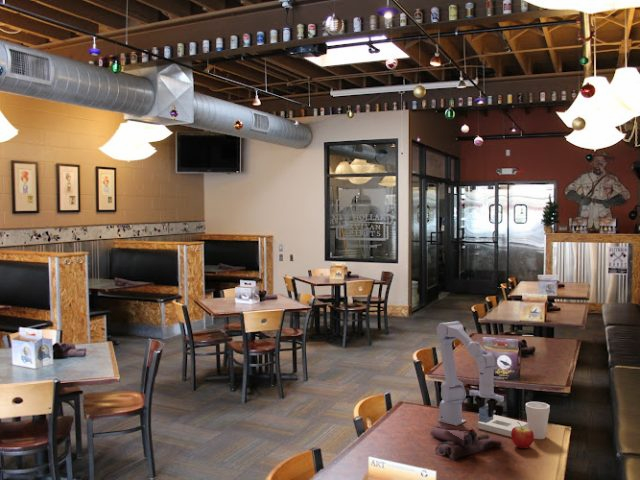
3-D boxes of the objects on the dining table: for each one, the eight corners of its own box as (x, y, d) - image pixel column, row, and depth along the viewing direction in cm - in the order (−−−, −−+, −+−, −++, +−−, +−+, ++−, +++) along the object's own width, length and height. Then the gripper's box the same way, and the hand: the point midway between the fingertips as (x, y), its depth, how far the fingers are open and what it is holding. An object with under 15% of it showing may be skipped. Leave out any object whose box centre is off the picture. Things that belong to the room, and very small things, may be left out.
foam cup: (546, 432, 264) (546, 401, 264) (552, 440, 255) (552, 408, 254) (523, 432, 265) (523, 401, 264) (528, 440, 256) (528, 408, 255)
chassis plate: (477, 428, 270) (477, 422, 270) (494, 420, 280) (494, 414, 280) (512, 437, 259) (512, 431, 259) (528, 428, 269) (528, 422, 269)
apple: (510, 442, 254) (510, 417, 253) (533, 444, 252) (533, 419, 251) (511, 449, 246) (511, 424, 245) (534, 451, 244) (534, 426, 243)
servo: (483, 424, 255) (483, 409, 255) (476, 422, 257) (476, 407, 257) (497, 417, 264) (497, 402, 263) (490, 415, 266) (490, 401, 265)
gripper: (465, 381, 261) (465, 414, 262) (498, 388, 251) (498, 421, 252) (474, 378, 266) (474, 410, 267) (506, 384, 256) (506, 417, 257)
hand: (486, 415), depth 260 cm, fingers closed on servo, 3 cm apart
